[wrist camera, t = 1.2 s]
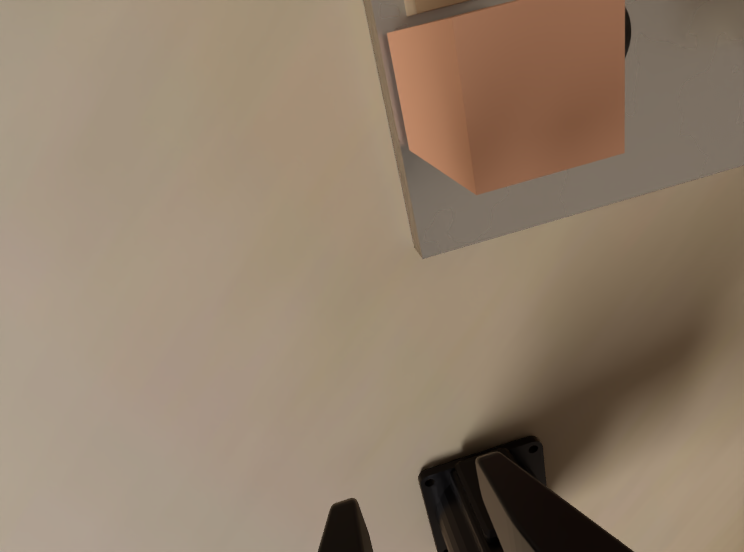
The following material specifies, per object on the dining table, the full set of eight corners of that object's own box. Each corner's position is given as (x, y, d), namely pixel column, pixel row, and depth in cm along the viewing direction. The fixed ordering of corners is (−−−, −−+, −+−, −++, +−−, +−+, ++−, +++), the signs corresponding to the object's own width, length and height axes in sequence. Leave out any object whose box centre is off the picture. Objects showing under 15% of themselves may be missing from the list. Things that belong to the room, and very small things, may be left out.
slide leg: (510, 122, 17) (624, 153, 11) (409, 150, 16) (476, 195, 11) (498, 3, 15) (625, -27, 10) (386, 33, 15) (452, 17, 9)
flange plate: (857, 119, 21) (890, 123, 20) (414, 247, 20) (423, 259, 18) (935, -257, 16) (986, -281, 15) (339, -119, 14) (344, -134, 13)
